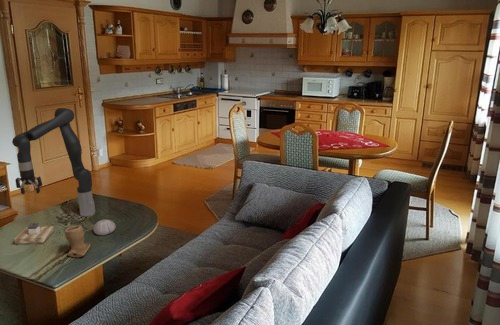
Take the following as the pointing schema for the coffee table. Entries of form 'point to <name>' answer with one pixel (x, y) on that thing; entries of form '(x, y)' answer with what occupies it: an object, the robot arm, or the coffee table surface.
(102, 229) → the sea urchin shell
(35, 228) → the connector plug
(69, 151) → the robot arm
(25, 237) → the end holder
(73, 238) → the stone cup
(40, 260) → the coffee table surface
